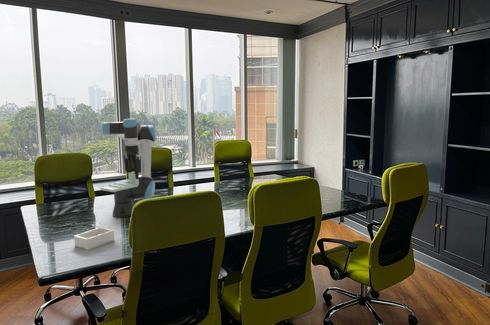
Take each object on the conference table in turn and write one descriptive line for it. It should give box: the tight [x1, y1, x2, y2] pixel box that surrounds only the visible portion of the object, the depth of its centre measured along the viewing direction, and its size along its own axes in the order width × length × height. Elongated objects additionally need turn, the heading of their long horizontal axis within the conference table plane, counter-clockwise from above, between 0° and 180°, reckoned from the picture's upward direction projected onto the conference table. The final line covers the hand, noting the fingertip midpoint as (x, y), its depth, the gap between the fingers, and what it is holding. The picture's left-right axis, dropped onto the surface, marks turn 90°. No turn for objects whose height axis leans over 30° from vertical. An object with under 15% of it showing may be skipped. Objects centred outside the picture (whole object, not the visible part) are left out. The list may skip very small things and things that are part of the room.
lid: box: [99, 171, 139, 193], centre depth 214 cm, size 12×21×8 cm, turn 146°
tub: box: [73, 226, 115, 252], centre depth 196 cm, size 11×16×6 cm
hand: (133, 183), depth 222 cm, fingers closed on lid, 4 cm apart
